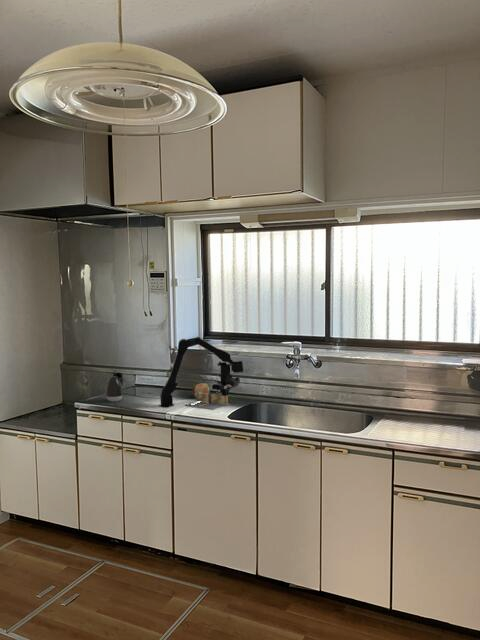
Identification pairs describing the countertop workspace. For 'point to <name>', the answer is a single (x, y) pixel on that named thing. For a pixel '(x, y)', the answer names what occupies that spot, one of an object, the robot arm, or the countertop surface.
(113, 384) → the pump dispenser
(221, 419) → the countertop surface
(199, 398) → the fence fixed
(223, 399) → the fence gate
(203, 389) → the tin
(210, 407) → the card
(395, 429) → the countertop surface
